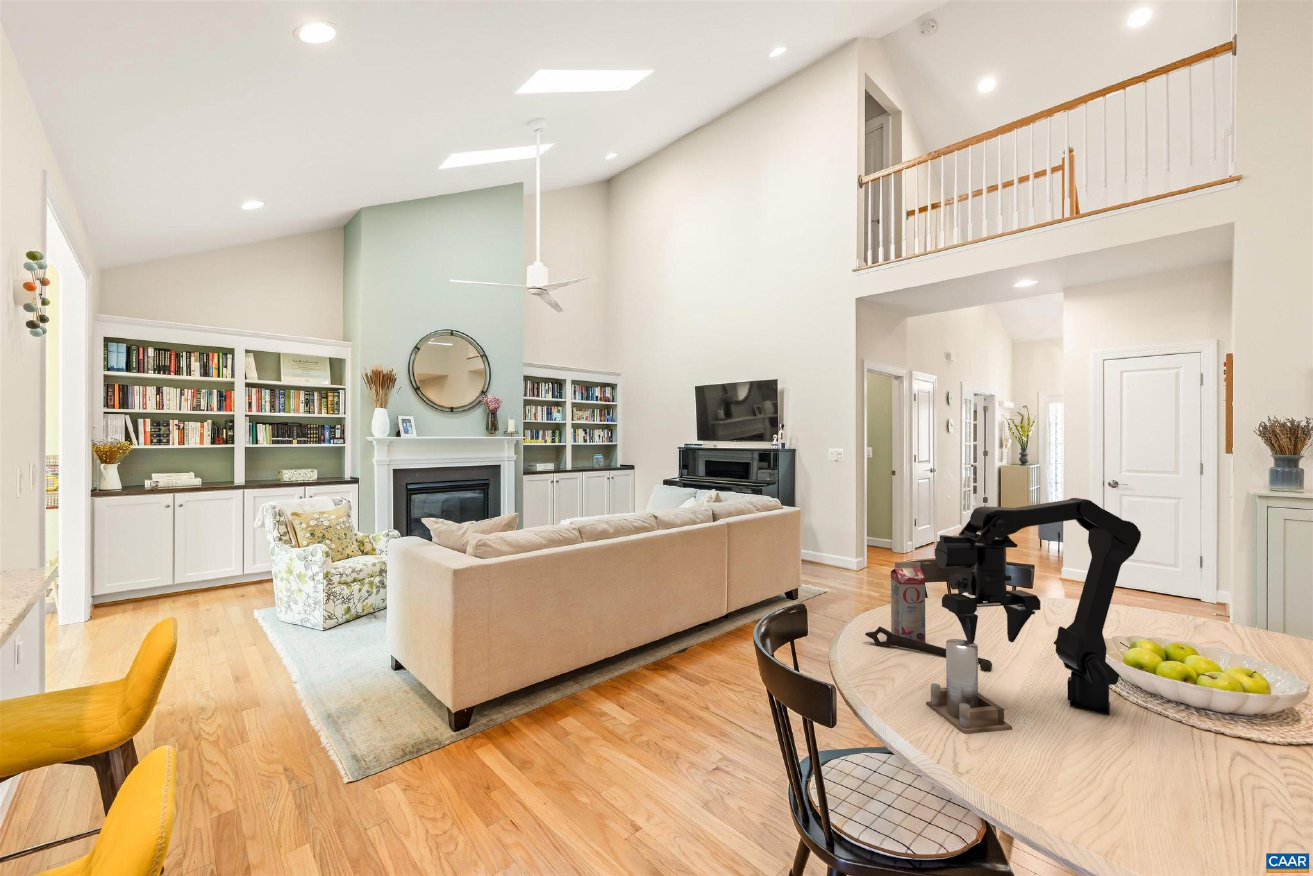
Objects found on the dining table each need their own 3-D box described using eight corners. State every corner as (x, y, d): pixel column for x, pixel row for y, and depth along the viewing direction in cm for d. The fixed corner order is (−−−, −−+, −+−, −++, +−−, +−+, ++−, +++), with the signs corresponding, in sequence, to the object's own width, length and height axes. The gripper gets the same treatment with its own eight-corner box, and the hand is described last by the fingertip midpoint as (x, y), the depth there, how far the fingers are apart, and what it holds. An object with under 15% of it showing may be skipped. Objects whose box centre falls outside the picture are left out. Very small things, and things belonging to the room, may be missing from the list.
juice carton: (925, 648, 153) (924, 565, 153) (899, 647, 153) (899, 564, 153) (916, 639, 159) (915, 559, 159) (891, 639, 160) (890, 559, 160)
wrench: (989, 681, 137) (860, 646, 154) (991, 675, 141) (866, 641, 158) (991, 659, 137) (862, 626, 154) (993, 654, 141) (867, 622, 158)
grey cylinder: (965, 706, 119) (965, 638, 119) (984, 719, 113) (984, 648, 113) (940, 708, 118) (940, 639, 118) (958, 721, 112) (958, 649, 112)
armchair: (969, 700, 122) (969, 679, 122) (1012, 729, 110) (1011, 705, 110) (926, 704, 121) (925, 682, 121) (964, 733, 109) (964, 709, 109)
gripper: (1002, 558, 130) (1003, 627, 130) (925, 561, 127) (926, 632, 127) (1042, 569, 118) (1042, 645, 119) (959, 573, 116) (959, 651, 116)
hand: (990, 643), depth 120 cm, fingers open, 9 cm apart
